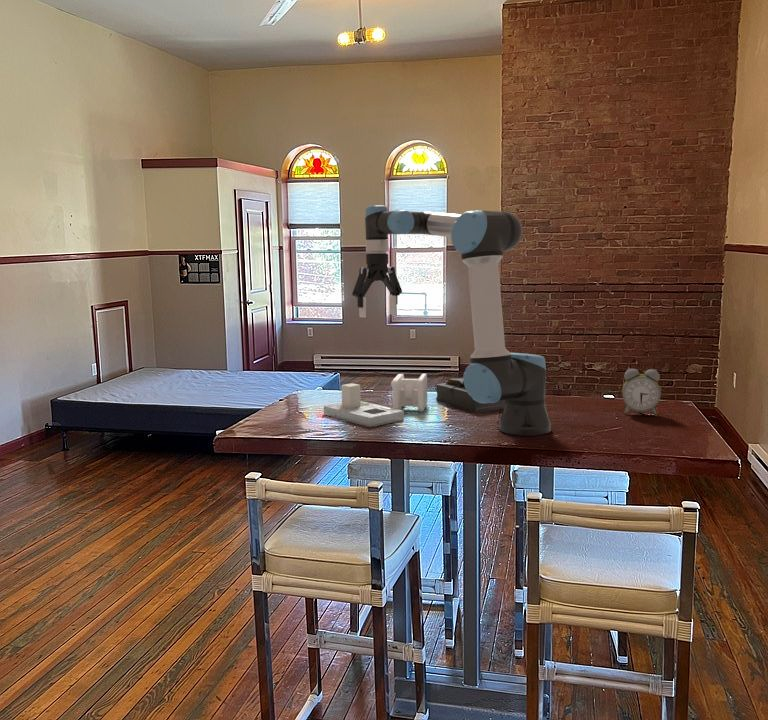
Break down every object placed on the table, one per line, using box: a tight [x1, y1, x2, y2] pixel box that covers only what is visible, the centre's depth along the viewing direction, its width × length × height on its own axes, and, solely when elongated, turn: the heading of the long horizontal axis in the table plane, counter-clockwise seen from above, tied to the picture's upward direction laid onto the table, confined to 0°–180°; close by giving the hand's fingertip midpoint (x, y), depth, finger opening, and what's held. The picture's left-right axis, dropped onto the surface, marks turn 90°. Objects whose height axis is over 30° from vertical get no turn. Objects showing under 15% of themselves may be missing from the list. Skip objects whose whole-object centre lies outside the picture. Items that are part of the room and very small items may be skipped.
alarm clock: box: [621, 368, 662, 417], centre depth 235 cm, size 12×7×15 cm, turn 72°
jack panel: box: [323, 400, 405, 428], centre depth 238 cm, size 24×14×3 cm, turn 41°
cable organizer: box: [390, 373, 428, 413], centre depth 248 cm, size 15×11×12 cm
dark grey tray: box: [435, 377, 505, 413], centre depth 256 cm, size 23×27×10 cm
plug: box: [341, 382, 362, 408], centre depth 242 cm, size 6×4×10 cm
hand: (378, 316), depth 248 cm, fingers open, 13 cm apart
